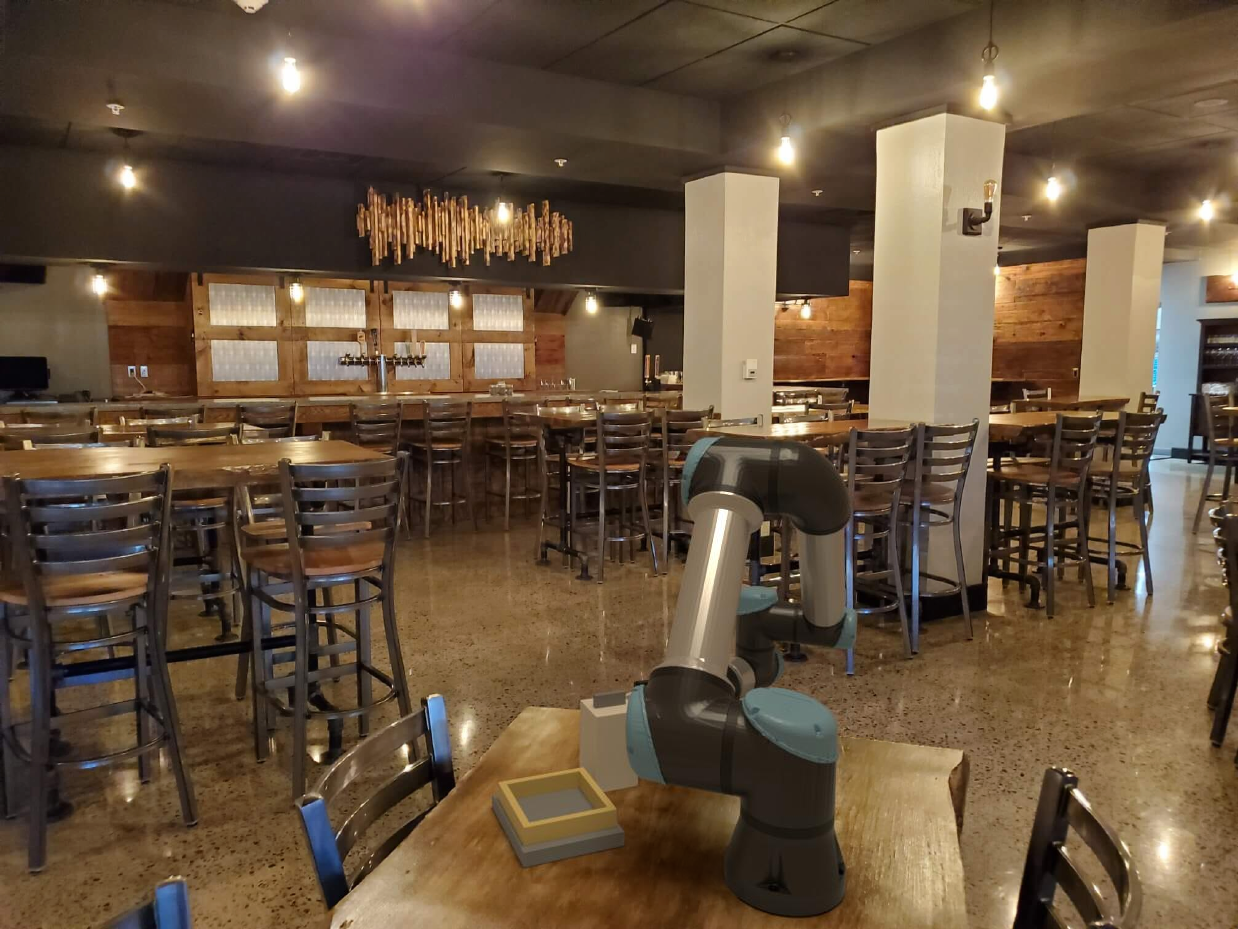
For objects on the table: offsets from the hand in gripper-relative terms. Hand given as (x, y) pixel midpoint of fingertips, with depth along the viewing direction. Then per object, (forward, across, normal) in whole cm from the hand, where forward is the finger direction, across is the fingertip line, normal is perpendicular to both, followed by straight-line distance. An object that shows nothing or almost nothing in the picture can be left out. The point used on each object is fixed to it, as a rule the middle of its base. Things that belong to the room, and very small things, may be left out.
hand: (649, 717), depth 139 cm
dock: (+25, -4, -7) cm, 26 cm away
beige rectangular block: (+10, 0, -7) cm, 12 cm away
